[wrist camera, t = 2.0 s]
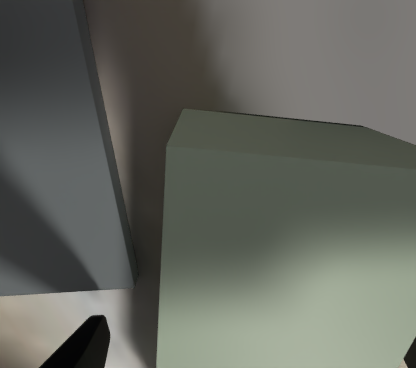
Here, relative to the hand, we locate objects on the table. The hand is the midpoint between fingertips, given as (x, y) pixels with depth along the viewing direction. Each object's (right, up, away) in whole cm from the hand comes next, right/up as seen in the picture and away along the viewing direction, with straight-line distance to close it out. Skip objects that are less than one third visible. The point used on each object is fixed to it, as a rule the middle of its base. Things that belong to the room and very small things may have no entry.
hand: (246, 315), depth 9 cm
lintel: (0, +1, +1) cm, 1 cm away
